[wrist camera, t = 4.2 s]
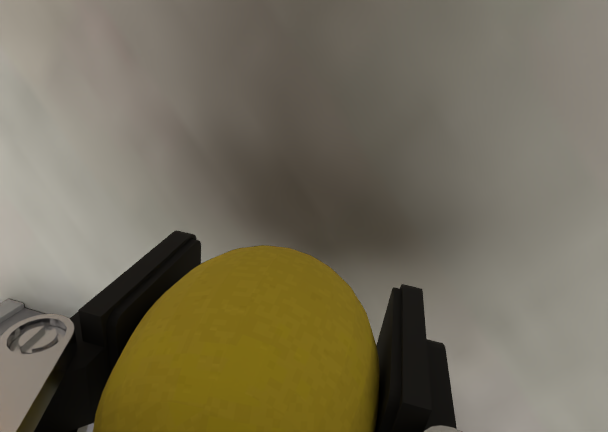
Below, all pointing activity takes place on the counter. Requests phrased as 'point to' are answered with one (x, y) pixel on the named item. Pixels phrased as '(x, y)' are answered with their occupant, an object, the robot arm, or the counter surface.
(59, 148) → the counter surface
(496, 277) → the counter surface
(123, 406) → the lemon
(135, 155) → the counter surface
